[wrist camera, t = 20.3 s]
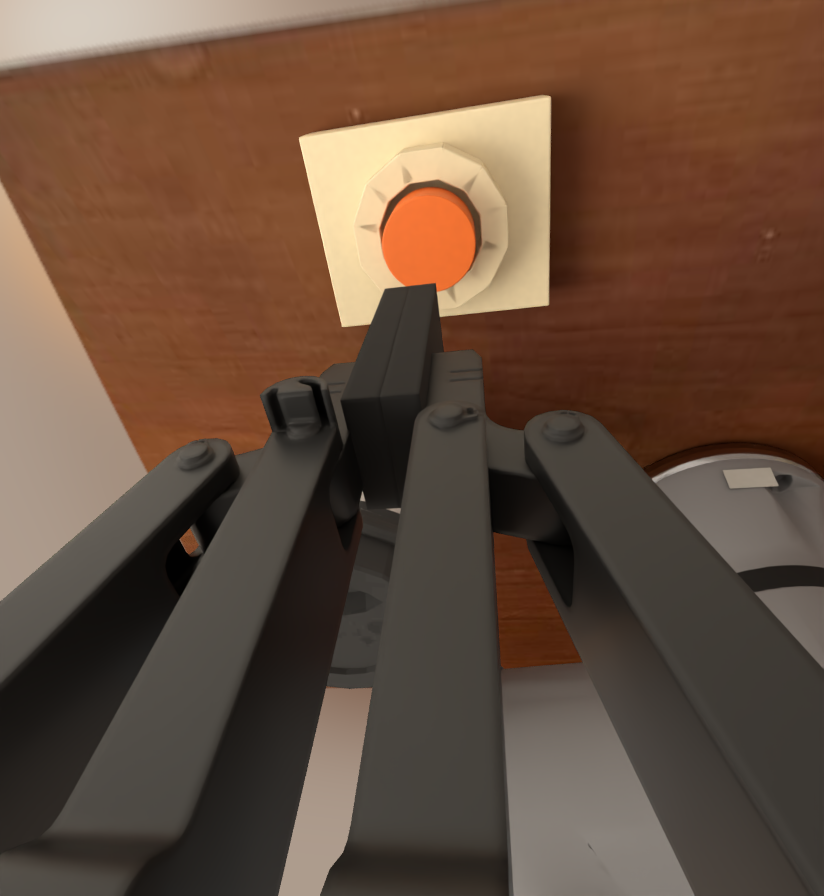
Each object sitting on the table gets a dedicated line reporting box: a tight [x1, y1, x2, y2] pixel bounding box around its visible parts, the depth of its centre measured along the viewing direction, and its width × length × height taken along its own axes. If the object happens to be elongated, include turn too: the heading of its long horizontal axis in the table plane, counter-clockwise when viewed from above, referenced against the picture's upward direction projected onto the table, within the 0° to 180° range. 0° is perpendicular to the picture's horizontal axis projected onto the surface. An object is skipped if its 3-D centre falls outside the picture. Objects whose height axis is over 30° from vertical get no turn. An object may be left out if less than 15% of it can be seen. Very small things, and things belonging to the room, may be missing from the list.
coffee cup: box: [326, 491, 401, 689], centre depth 29 cm, size 11×11×15 cm
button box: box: [299, 95, 551, 327], centre depth 25 cm, size 11×9×4 cm
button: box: [382, 187, 476, 292], centre depth 23 cm, size 4×4×2 cm
